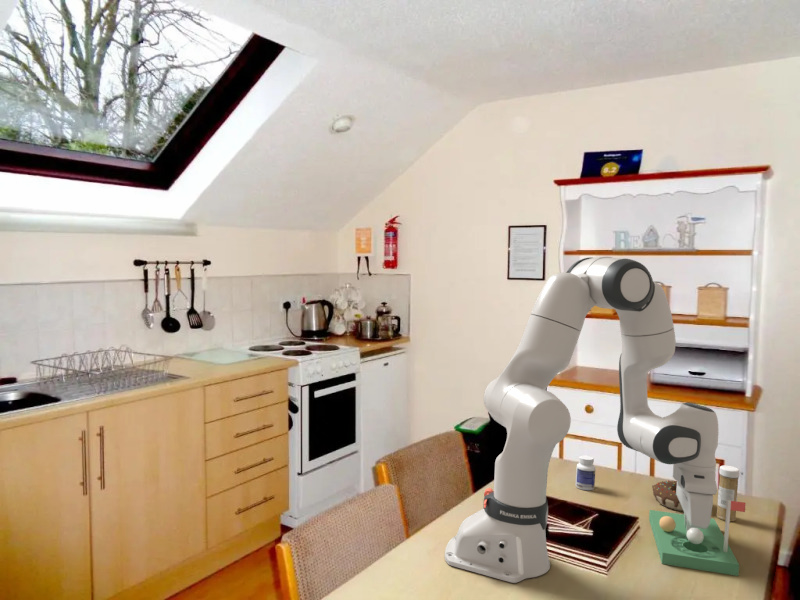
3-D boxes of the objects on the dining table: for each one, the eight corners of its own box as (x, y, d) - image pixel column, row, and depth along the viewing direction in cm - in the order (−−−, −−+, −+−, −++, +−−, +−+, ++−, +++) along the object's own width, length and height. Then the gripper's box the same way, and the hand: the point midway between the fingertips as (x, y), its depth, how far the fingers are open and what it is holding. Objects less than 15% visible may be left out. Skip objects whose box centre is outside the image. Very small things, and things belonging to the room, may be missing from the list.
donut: (714, 505, 167) (715, 487, 167) (697, 519, 157) (699, 500, 157) (661, 490, 177) (662, 473, 177) (642, 502, 167) (643, 484, 167)
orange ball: (660, 533, 142) (661, 518, 142) (658, 526, 146) (659, 512, 145) (676, 535, 141) (677, 520, 141) (673, 529, 145) (674, 514, 144)
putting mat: (661, 563, 133) (666, 501, 132) (649, 519, 156) (652, 465, 155) (747, 577, 128) (752, 512, 127) (721, 529, 151) (725, 474, 150)
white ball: (686, 546, 137) (688, 532, 136) (684, 536, 140) (686, 523, 139) (703, 548, 136) (706, 535, 135) (701, 539, 139) (703, 525, 138)
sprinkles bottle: (739, 519, 158) (743, 469, 157) (729, 523, 155) (733, 472, 154) (721, 513, 161) (725, 463, 160) (712, 516, 159) (716, 466, 158)
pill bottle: (596, 491, 174) (598, 460, 173) (578, 490, 174) (580, 460, 173) (591, 484, 179) (592, 454, 178) (573, 483, 179) (574, 454, 178)
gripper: (671, 457, 152) (668, 511, 153) (687, 486, 132) (682, 548, 133) (699, 460, 150) (695, 515, 151) (719, 490, 131) (714, 552, 132)
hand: (689, 530), depth 142 cm, fingers closed
